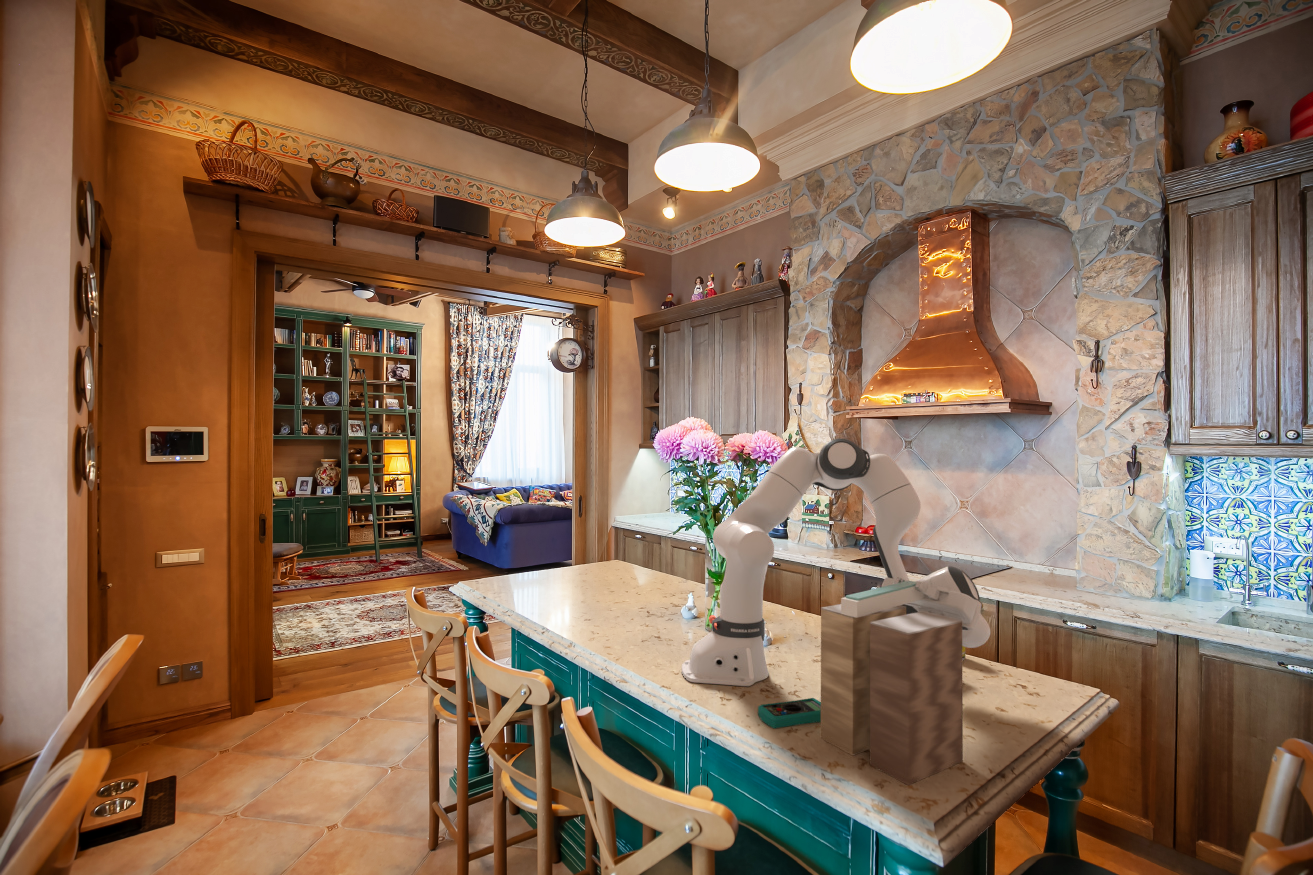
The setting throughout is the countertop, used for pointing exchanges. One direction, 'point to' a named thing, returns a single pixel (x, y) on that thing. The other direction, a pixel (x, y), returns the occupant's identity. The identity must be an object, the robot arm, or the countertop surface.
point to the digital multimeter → (790, 713)
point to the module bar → (880, 599)
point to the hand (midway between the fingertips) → (907, 582)
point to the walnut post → (916, 695)
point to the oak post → (847, 677)
